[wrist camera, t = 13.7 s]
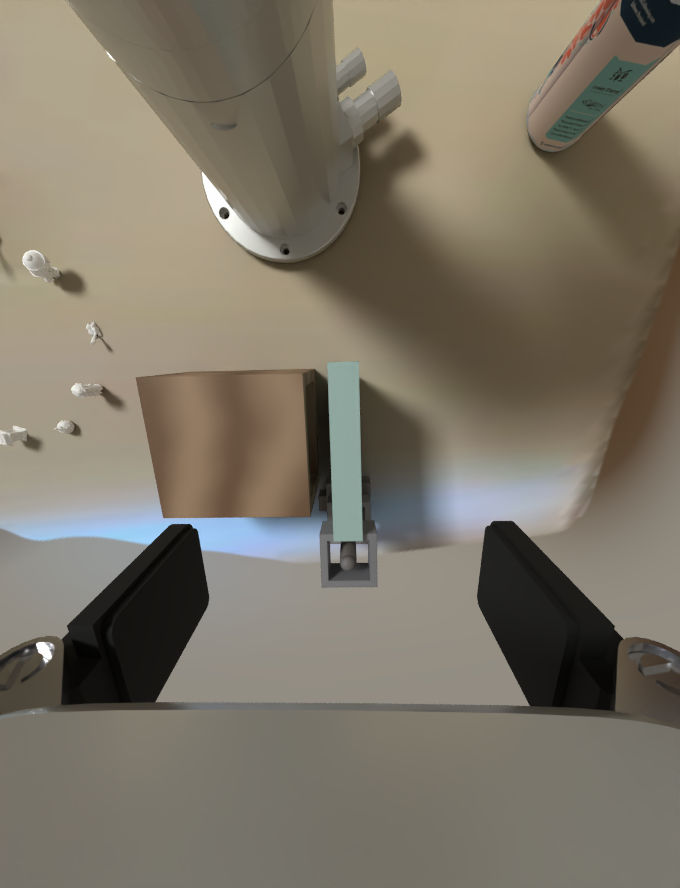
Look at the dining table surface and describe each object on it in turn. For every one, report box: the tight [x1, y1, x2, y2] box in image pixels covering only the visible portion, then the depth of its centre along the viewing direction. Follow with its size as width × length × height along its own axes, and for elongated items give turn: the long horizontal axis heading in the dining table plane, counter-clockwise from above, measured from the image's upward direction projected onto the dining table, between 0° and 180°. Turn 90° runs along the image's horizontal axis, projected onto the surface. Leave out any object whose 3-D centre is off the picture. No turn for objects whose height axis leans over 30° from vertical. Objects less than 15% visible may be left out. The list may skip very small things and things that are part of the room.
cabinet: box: [136, 369, 370, 571], centre depth 26 cm, size 17×16×12 cm
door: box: [320, 361, 378, 588], centre depth 26 cm, size 4×16×10 cm, turn 2°
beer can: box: [527, 0, 680, 152], centre depth 18 cm, size 5×5×12 cm
